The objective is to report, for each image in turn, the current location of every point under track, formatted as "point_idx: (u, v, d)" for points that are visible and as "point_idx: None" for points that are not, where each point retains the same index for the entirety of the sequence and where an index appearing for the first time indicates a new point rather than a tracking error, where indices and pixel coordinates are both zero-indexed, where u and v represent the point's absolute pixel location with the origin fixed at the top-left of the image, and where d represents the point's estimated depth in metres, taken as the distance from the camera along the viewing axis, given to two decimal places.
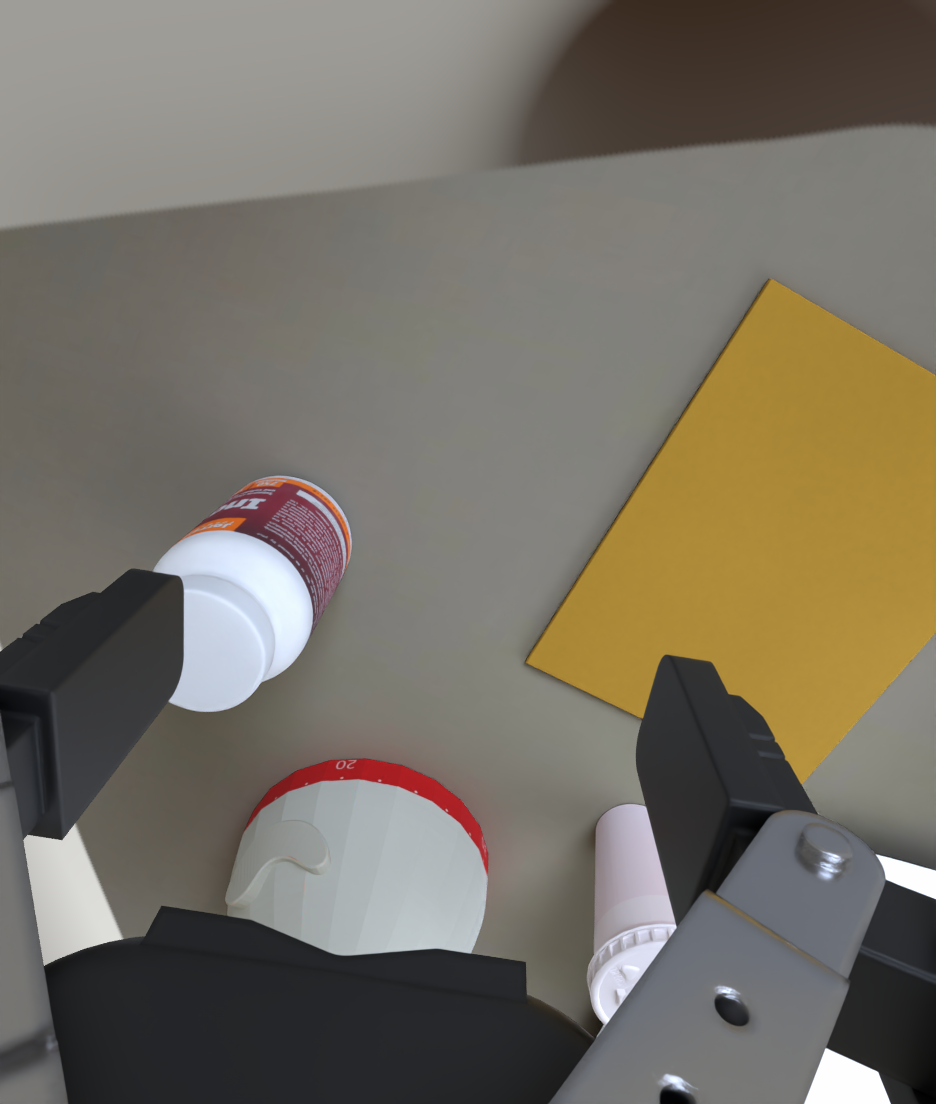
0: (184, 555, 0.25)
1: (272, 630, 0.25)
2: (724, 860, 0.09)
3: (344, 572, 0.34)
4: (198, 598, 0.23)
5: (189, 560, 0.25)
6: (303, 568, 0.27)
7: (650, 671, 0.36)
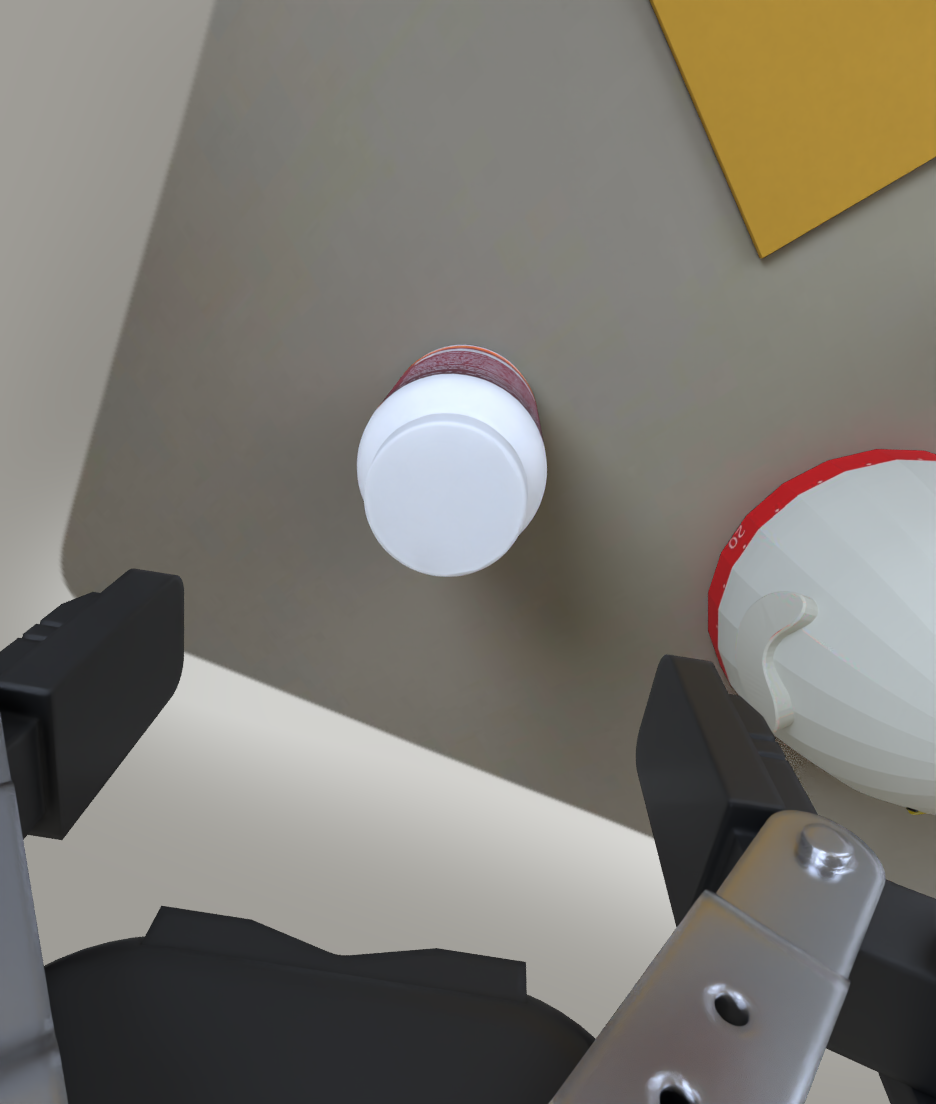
0: (364, 463, 0.23)
1: (479, 421, 0.21)
2: (724, 860, 0.09)
3: (527, 383, 0.29)
4: (388, 453, 0.20)
5: (370, 460, 0.23)
6: (457, 371, 0.23)
7: (883, 103, 0.26)
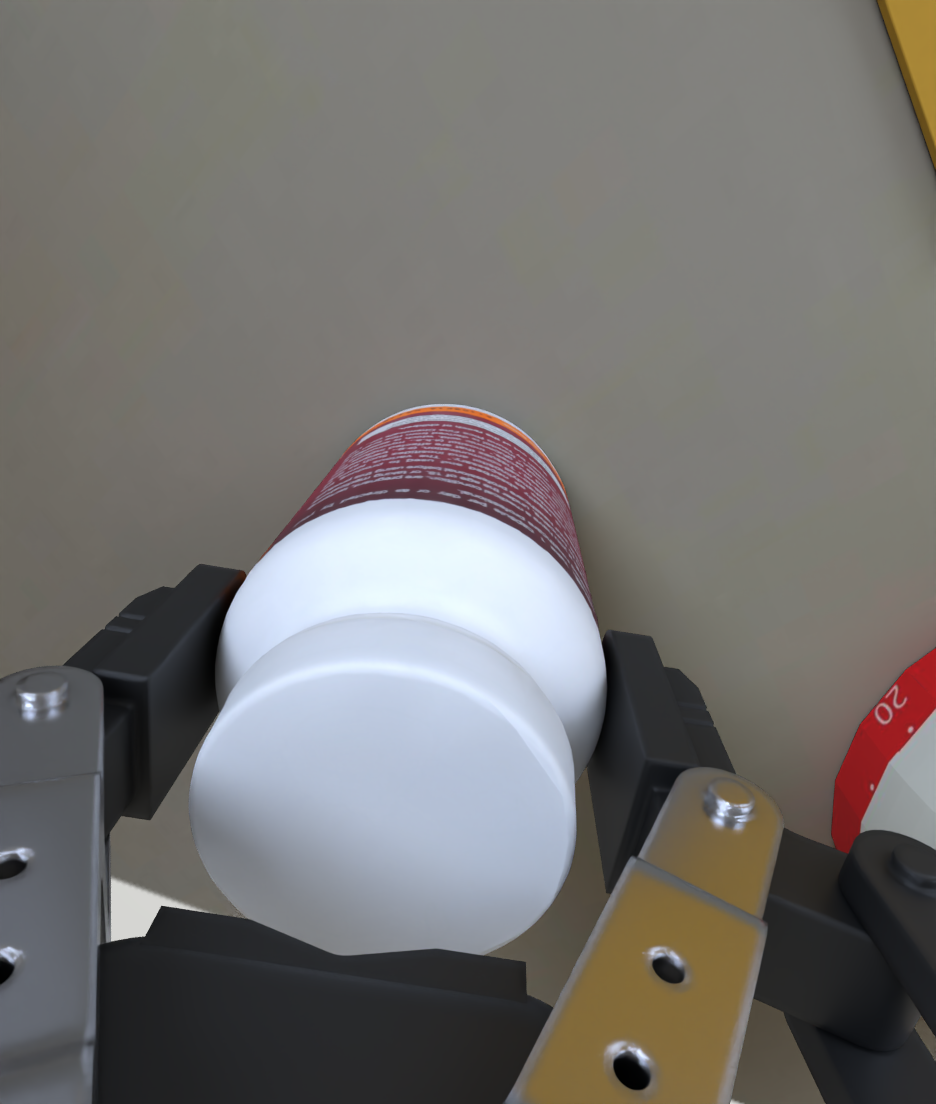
0: (224, 686, 0.11)
1: (462, 633, 0.09)
2: (644, 816, 0.09)
3: (554, 469, 0.17)
4: (238, 732, 0.08)
5: (234, 684, 0.11)
6: (421, 488, 0.11)
7: None
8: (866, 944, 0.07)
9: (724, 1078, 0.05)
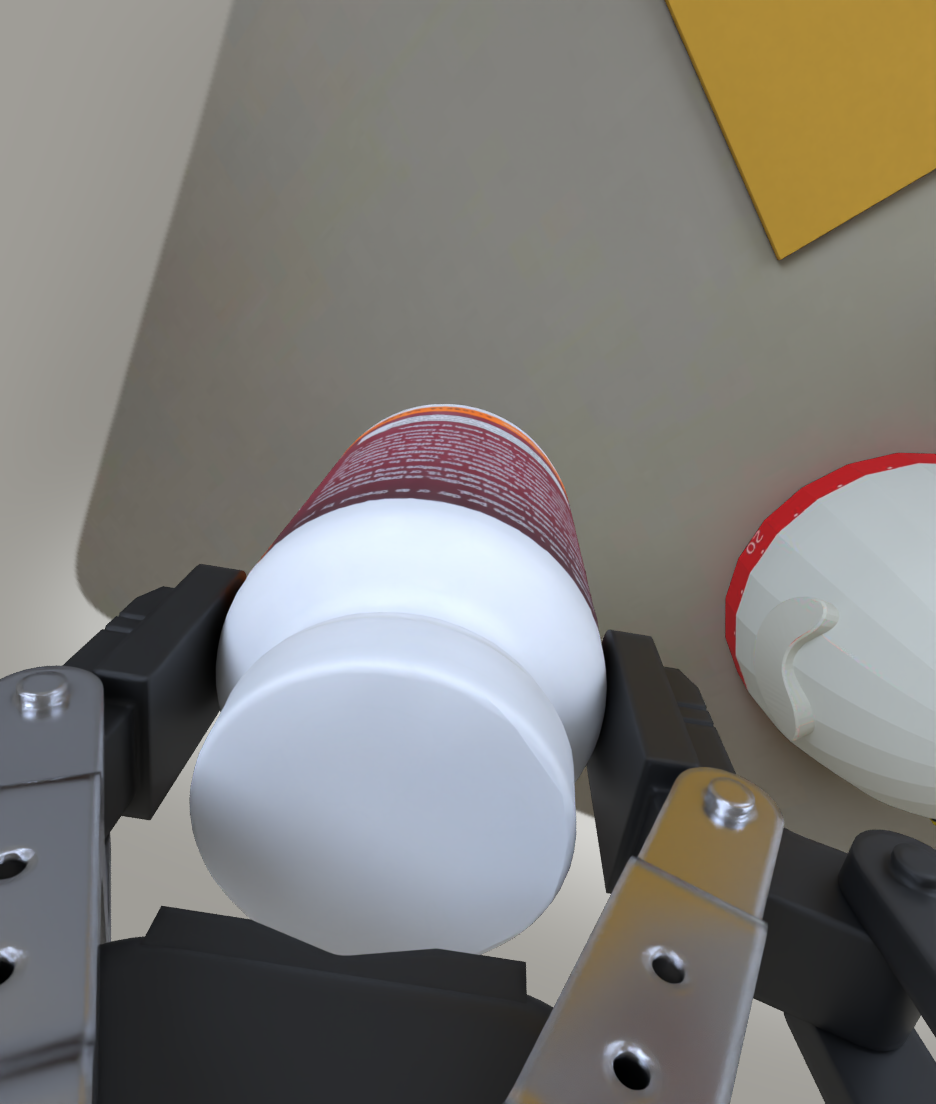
0: (224, 685, 0.11)
1: (462, 632, 0.09)
2: (644, 816, 0.09)
3: (554, 469, 0.17)
4: (237, 731, 0.08)
5: (235, 683, 0.11)
6: (421, 488, 0.11)
7: (904, 102, 0.25)
8: (866, 944, 0.07)
9: (724, 1077, 0.05)
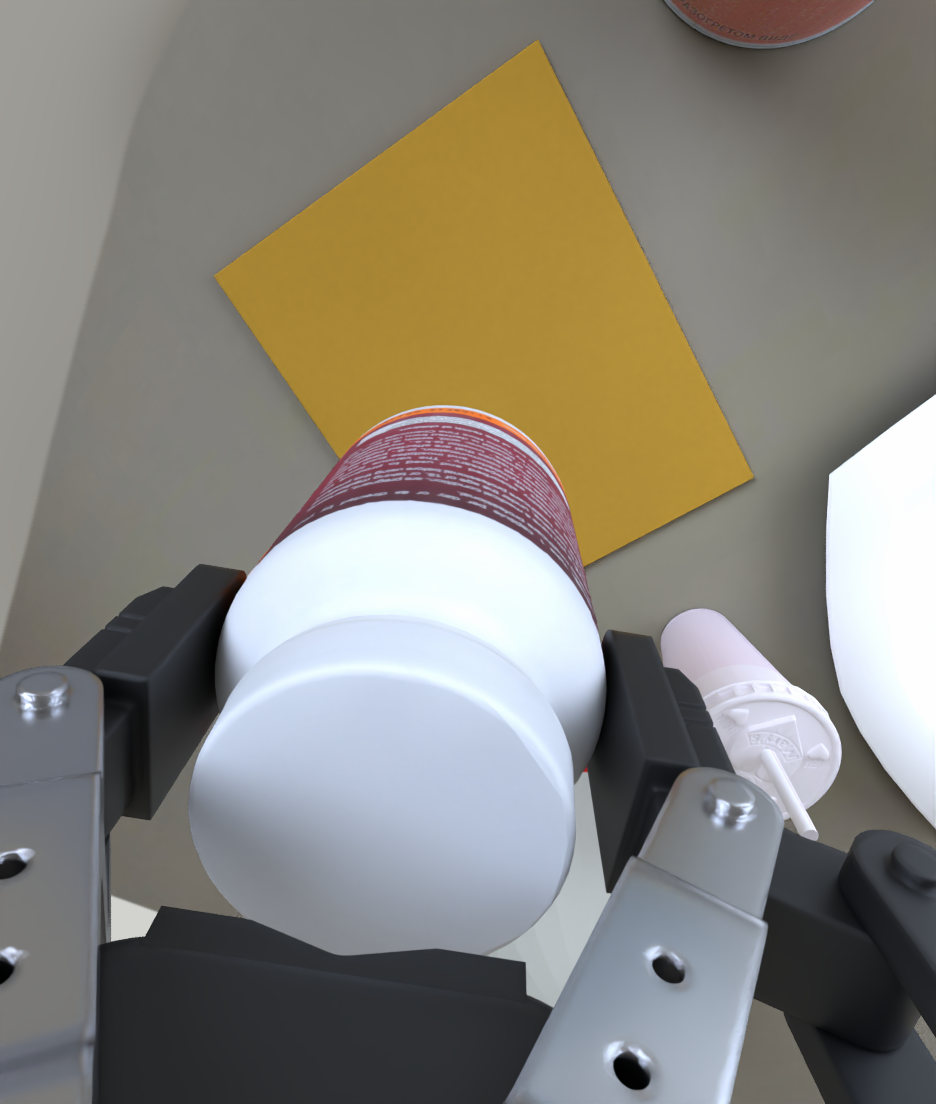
0: (223, 688, 0.11)
1: (461, 635, 0.09)
2: (644, 816, 0.09)
3: (554, 471, 0.17)
4: (237, 734, 0.08)
5: (234, 686, 0.11)
6: (419, 490, 0.11)
7: None
8: (866, 944, 0.07)
9: (724, 1078, 0.05)
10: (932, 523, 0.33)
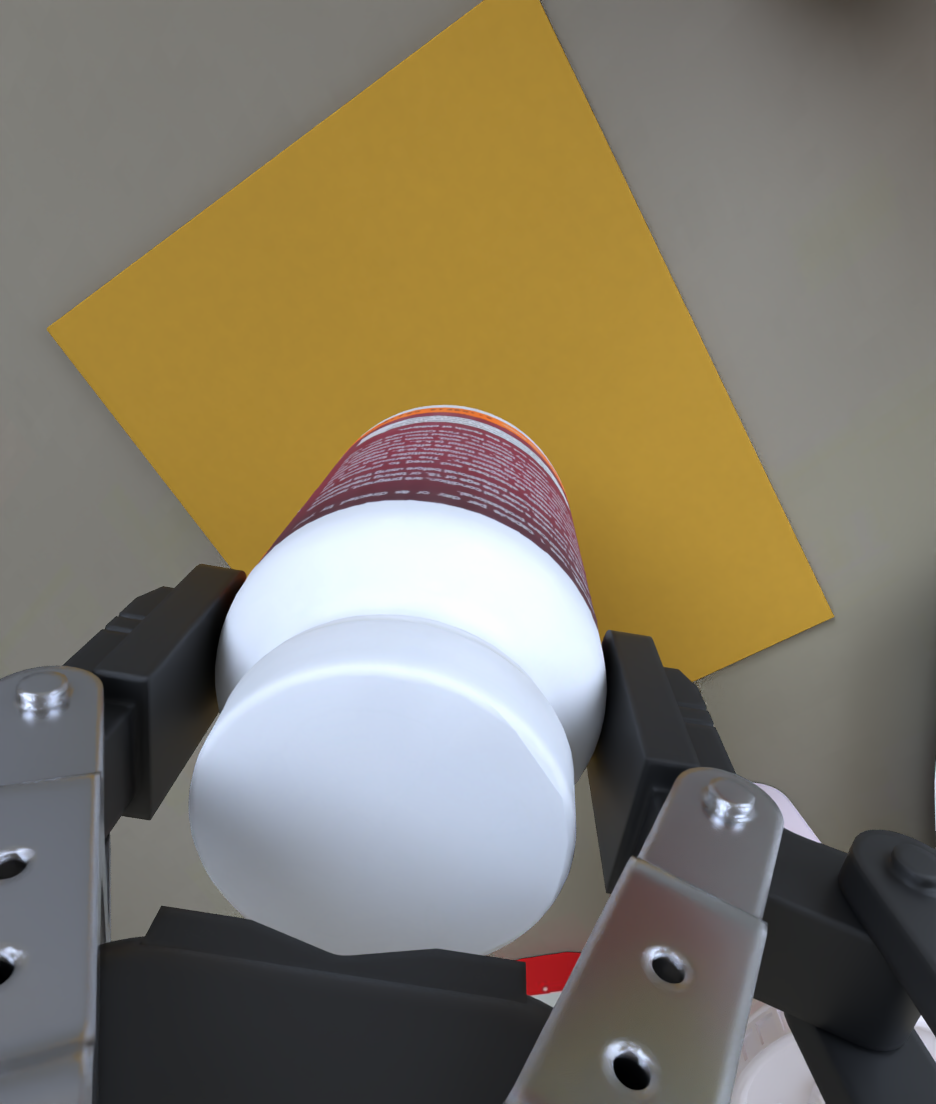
0: (224, 687, 0.11)
1: (461, 635, 0.09)
2: (644, 816, 0.09)
3: (554, 470, 0.17)
4: (237, 734, 0.08)
5: (234, 686, 0.11)
6: (420, 490, 0.11)
7: None
8: (866, 944, 0.07)
9: (724, 1078, 0.05)
10: None
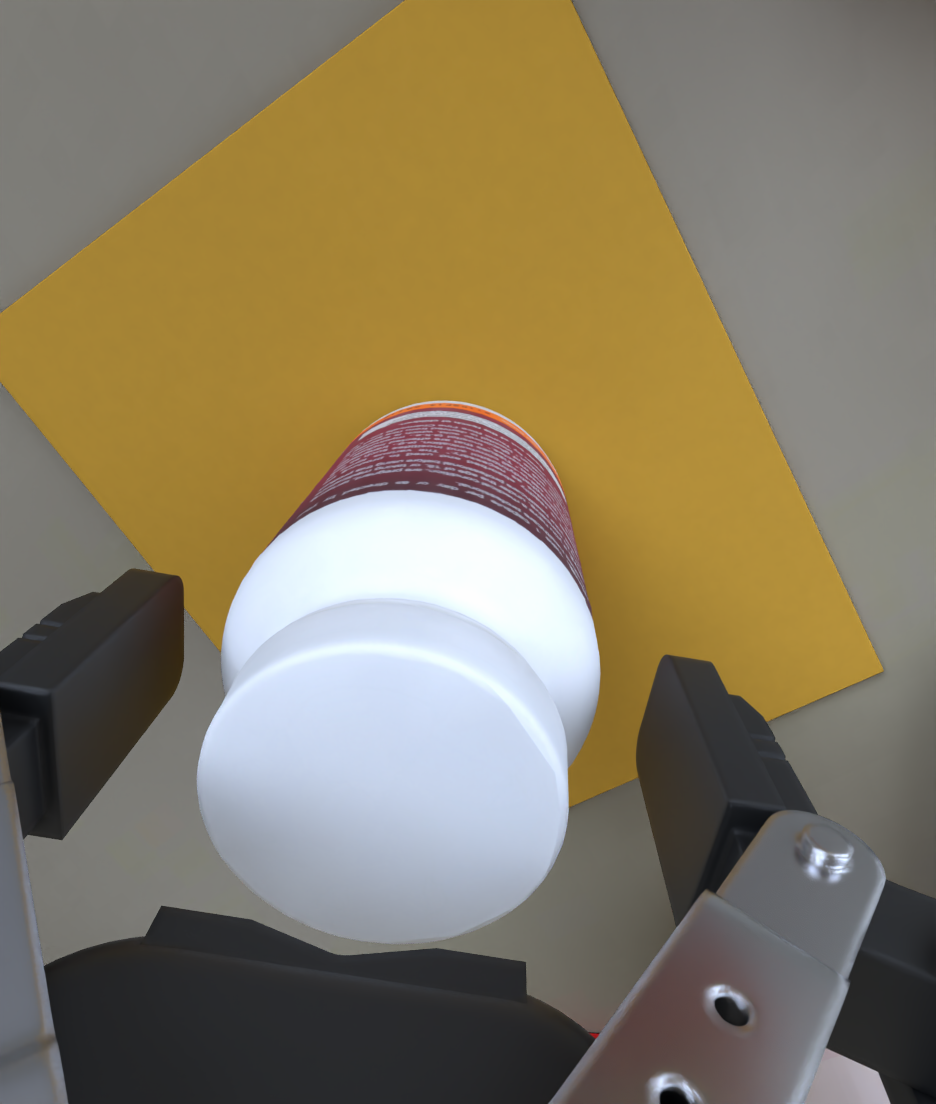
0: (229, 671, 0.11)
1: (459, 617, 0.09)
2: (724, 860, 0.09)
3: (551, 465, 0.17)
4: (243, 711, 0.09)
5: (240, 669, 0.11)
6: (420, 481, 0.11)
7: None
8: None
9: None
10: None
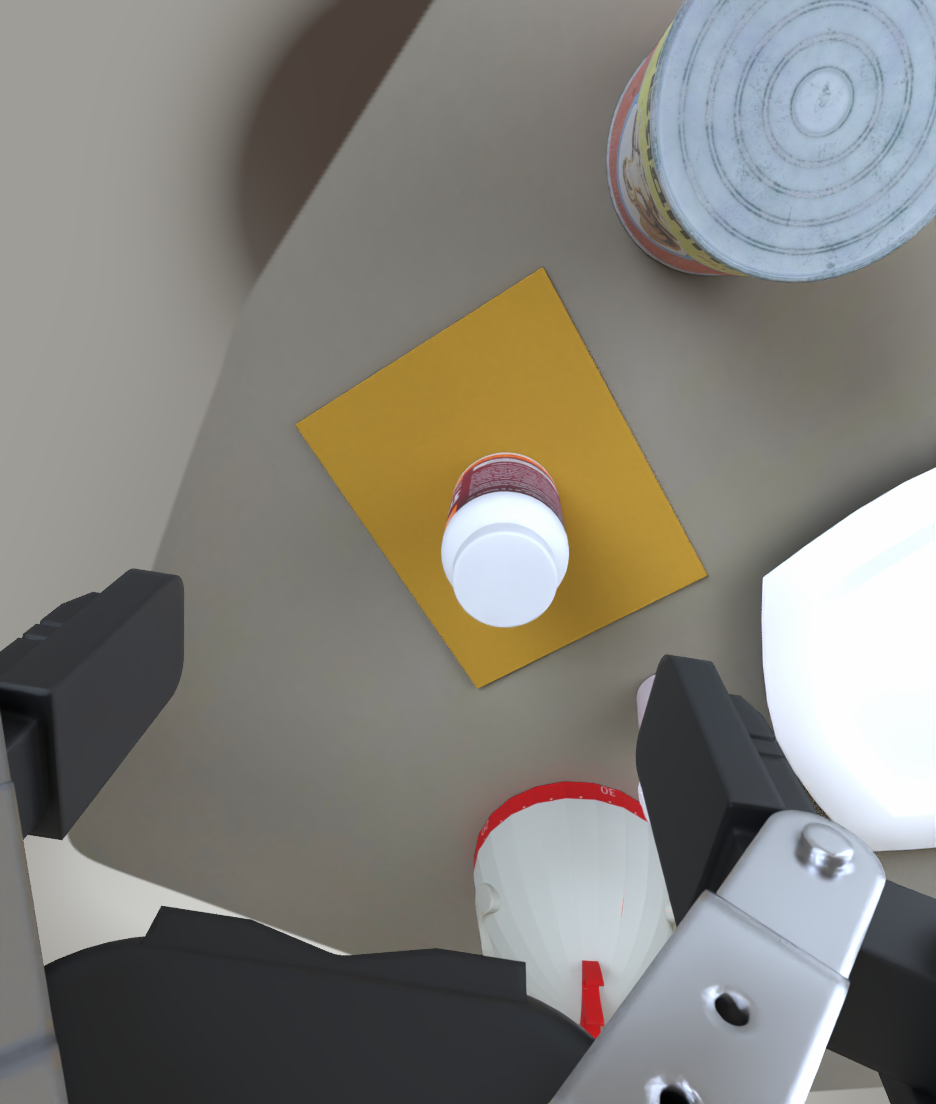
0: (447, 550, 0.34)
1: (526, 528, 0.32)
2: (724, 860, 0.09)
3: (552, 480, 0.40)
4: (469, 551, 0.32)
5: (452, 549, 0.34)
6: (509, 488, 0.35)
7: (533, 620, 0.45)
8: None
9: None
10: (844, 612, 0.43)
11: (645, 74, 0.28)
